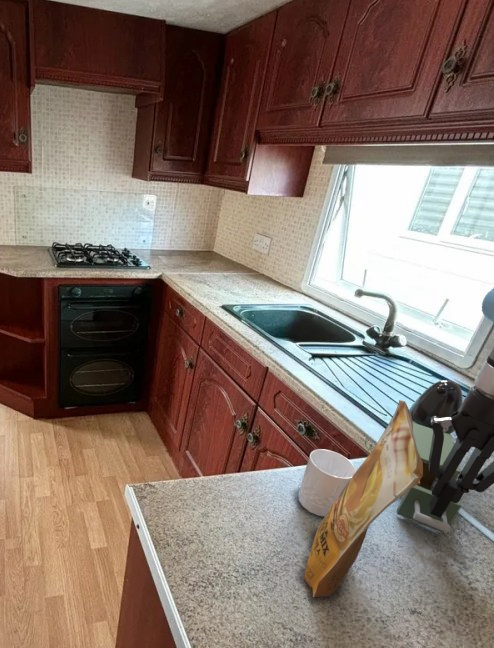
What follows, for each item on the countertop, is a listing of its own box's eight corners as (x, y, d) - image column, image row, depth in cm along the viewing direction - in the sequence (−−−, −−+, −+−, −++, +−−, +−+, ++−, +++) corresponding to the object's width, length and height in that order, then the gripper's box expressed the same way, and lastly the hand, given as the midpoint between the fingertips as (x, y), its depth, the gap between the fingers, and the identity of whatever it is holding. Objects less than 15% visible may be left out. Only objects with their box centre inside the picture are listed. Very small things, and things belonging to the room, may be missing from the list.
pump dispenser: (393, 425, 106) (417, 375, 99) (415, 417, 110) (440, 369, 104) (434, 449, 98) (464, 396, 91) (456, 439, 102) (486, 388, 96)
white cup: (339, 499, 79) (357, 460, 75) (336, 526, 73) (355, 485, 69) (298, 482, 83) (312, 443, 78) (291, 506, 77) (307, 466, 72)
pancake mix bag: (359, 536, 72) (427, 404, 59) (343, 624, 57) (428, 473, 45) (320, 517, 75) (376, 387, 63) (294, 595, 60) (361, 447, 48)
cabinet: (440, 505, 81) (460, 472, 77) (391, 485, 85) (408, 453, 81) (434, 465, 92) (452, 435, 88) (391, 450, 96) (406, 420, 92)
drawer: (446, 552, 69) (465, 524, 66) (396, 531, 72) (412, 503, 69) (437, 489, 83) (452, 464, 80) (396, 474, 87) (409, 449, 84)
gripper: (453, 390, 60) (391, 506, 70) (571, 423, 54) (485, 545, 64) (447, 372, 66) (392, 481, 76) (554, 400, 60) (477, 515, 70)
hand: (434, 510), depth 70 cm, fingers closed
